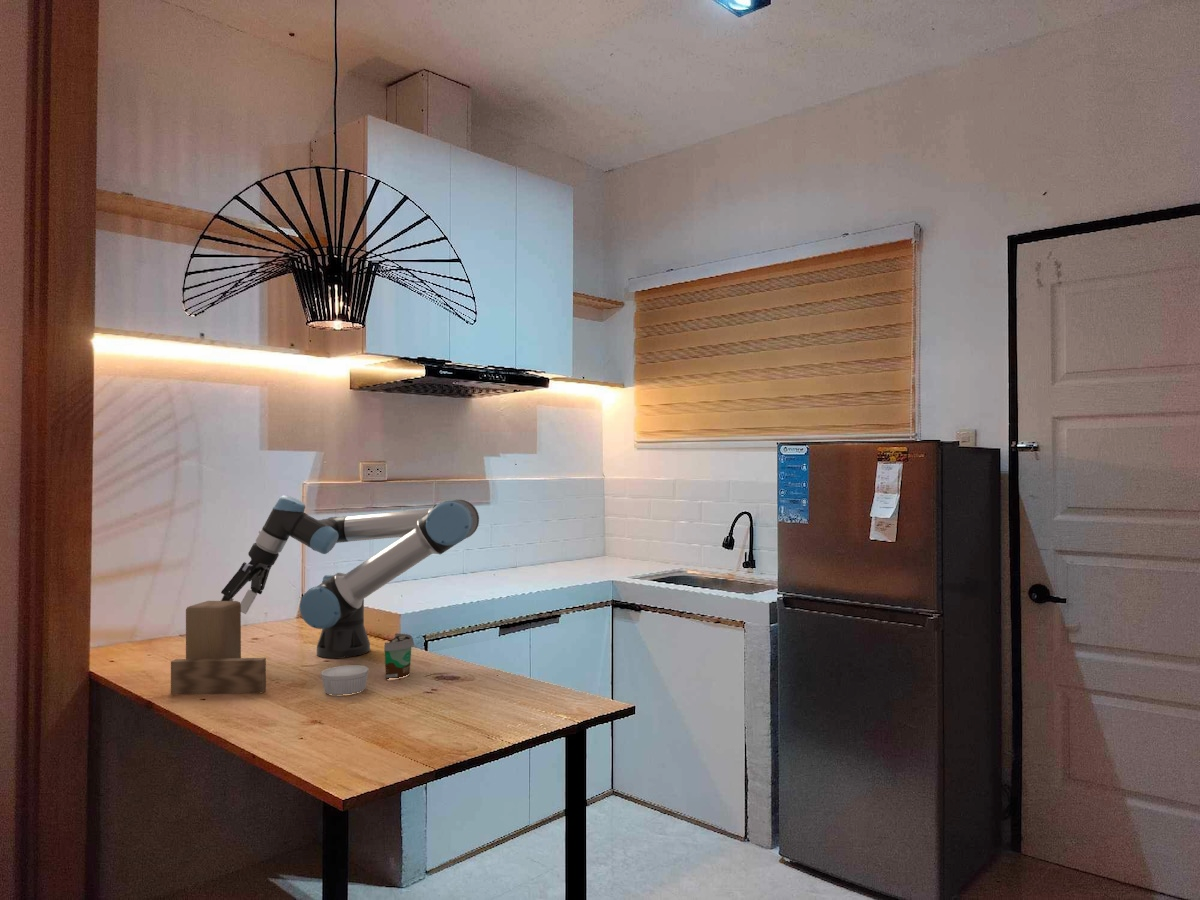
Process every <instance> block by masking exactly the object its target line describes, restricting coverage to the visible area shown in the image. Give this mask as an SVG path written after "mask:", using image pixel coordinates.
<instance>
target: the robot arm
mask: <svg viewBox="0 0 1200 900" xmlns="http://www.w3.org/2000/svg"><path fill="white" fill-rule="evenodd" d="M305 509H306V504H305V503H303V502H302V501H301V500H300V499H297V498H296V497H293V496H290V495H281V496H280V497H279V499H278V500H277V502H276V503H275V504H274V506H273V507H272V510H271V512H270V514H269V515H268V517H267V519H266V521H265V523H264V524H263V526H262V528H261V529H260V530H259V531H258V535H257V537H256V538H255V543H253V544H252V546H251V547H250V549H249V551H248V554H247V555H248V556H249V558H250V561H249V562H248V563H247V562H246V561H244V562H243V563H242V564H241V566H240V567H239V568H238V570H237V572H236V573H235V574H233V577H232V578H230V580H229V581H228V583H227V584H226V585H225V586H224V588H222V590H221V592H220V593H221V594H222V595H223V596H222V597H221V599H220V601H235V600H234V597H235V596H236V595H237V594H238V593H239V592H240V591H241V589H243V587H244V586H245V585H246V584H247V583H248V582H251V583H250V589H247V592H246V593H245V595H244V597H243V598H242V600H241V602H240V604H241V614H244V615H247V614H248V612H249V610H250V608H251V607H252V604H253V602H254V601H255V599H256V597H257V596H258V595H262V593H263V591H264V589H265V586H266V584H267V580H268V577H269V574H270V571H271V568H272V566H274V565H275V563H276V561H277V560H278V558H279V556H280V553H282V551H283V549H284V548H285V546H286V544H287V542H288V540H289V538H290V537H291V538H293V539H294V540H296V541H298V542H299V543H301V544H303V545H305V546H306V547H308V548H310V549H311V550H313V551H315V552H318V553H320V554H322V555H327V554H329V552H330V551H332V550H333V549H334V547H335V545H336V544H337V543H338V544H340V543H341V544H342V543H348V542H349V543H350V542H359V541H370V540H381V539H382V540H384V539H393V538H398V539H396V540H395V541H394V542H392V543H391V544H389V545H388V546H386V547H385V548H382V550H380V551H378V552H376V553H375V554H374V555H372V556H371V557H369V558H368V559H366V560H365V561H363V562H361V563H360V564H359V565H357V566H356V567H354V568H353V569H351V570H350V571H348V572H346V573H344V572H343V573H342V572H337V573H335V574H328V575H327V574H326V575H325V574H324V576H323V578H322V581H321V583H320V584H319V585H317V586H313V587H311V588H309V589H308V590H307V591H306V592H305V593H304V594H303V595H302V596H301V599H300V603H299V612H300V616H301V617H302V619H303V620H304V622H305V623H306V624H307V625H308V626H309V627H311V628H314V629H317V630H321V632H320V635H319V638H318V642H317V644H316V656H318V657H320V658H329V659H343V658H342V657H345V658H352V657H351V656H353V657H357V656H356V655H359V656H362V655H361V654H363V655H365V654H364V653H366V654H368V653H369V652H370V651H371V643H370V639H369V636H368V633H367V631H366V628H365V619H364V618H365V617H364V615H365V613H364V612H365V602H364V601H365V600H364V599H366V598H368V597H369V596H370V595H372V594H373V593H374V592H376V591H378V590H380V589H381V588H383V587H384V586H386V585H387V584H389V583H390V582H392V581H393V580H394V579H396V578H397V577H399V576H400V575H402V574H403V573H405V572H406V571H408V570H410V569H411V568H412V567H414V566H416V565H418V563H420V562H422V561H423V560H425V559H426V558H427V557H430V555H432V554H436V555H442V554H444V553H446V552H447V551H448V550H450V549H451V548H453V547H454V546H456V545H458V544H459V543H462V542H463V541H464V540H465V539H469V538H470V537H471V536H472V535H474V534H475V532H476V531H477V529H478V527H479V524H480V515H479V512H478V510H477V508H476V507H475V505H473V504H472V503H471V502H469V501H468V500H465V499H454V500H448V501H447V500H446V501H443V502H440V503H438V504H433V505H432V506H431V507H430V508H424V509H414V510H412V509H411V510H404V511H402V510H401V511H393V512H391V511H389V512H383V513H382V512H381V513H380V512H379V513H369V514H359V515H358V514H357V515H348V516H332V517H328V518H323V519H316V518H314V517H312V516H311V515H309V514H307V513H306V512H305V511H306V510H305ZM368 651H369V652H368ZM367 652H368V653H367Z"/></svg>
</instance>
